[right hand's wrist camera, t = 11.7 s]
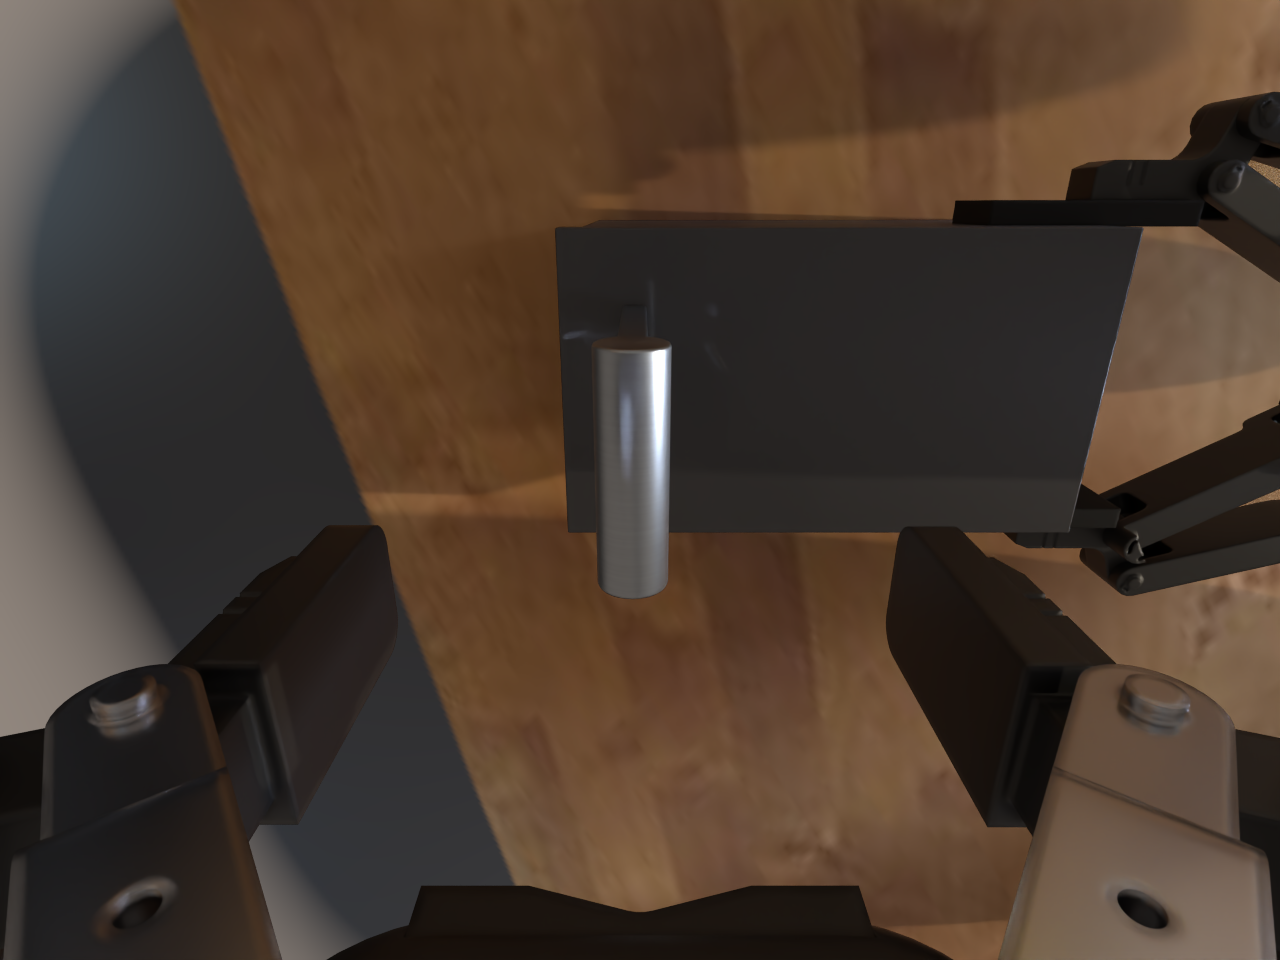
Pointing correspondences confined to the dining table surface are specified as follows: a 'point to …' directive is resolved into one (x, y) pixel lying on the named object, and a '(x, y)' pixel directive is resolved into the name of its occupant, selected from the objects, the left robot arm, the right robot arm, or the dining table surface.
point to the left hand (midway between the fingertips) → (945, 369)
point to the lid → (829, 379)
